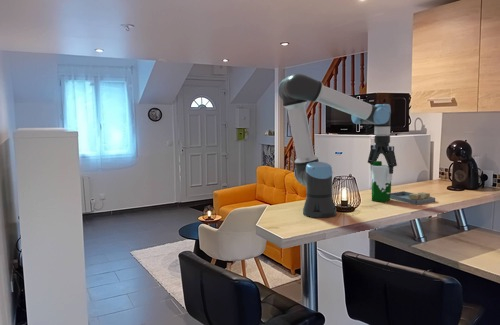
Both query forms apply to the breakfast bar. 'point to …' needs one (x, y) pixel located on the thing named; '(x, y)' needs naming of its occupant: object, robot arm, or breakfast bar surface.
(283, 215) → the breakfast bar surface
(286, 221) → the breakfast bar surface
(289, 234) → the breakfast bar surface
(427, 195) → the oak block
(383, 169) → the soya milk
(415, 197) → the oak block
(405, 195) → the tray
